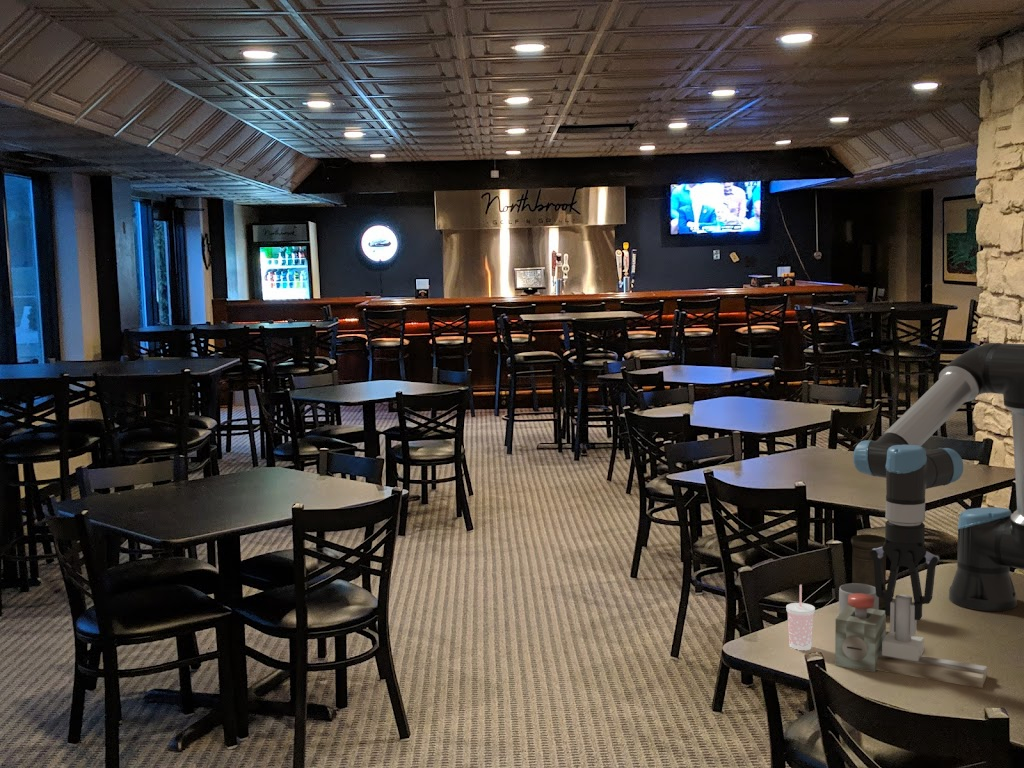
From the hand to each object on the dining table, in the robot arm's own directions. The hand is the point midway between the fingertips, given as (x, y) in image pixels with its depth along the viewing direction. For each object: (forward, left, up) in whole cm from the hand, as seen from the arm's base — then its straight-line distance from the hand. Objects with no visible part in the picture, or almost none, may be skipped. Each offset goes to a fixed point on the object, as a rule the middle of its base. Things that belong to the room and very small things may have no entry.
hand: (903, 632), depth 212 cm
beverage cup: (+14, -17, -8) cm, 23 cm away
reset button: (+6, -6, +1) cm, 9 cm away
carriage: (0, 0, -4) cm, 4 cm away
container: (-13, -33, -8) cm, 36 cm away
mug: (-3, -20, -8) cm, 22 cm away
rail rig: (-1, +1, -8) cm, 8 cm away
